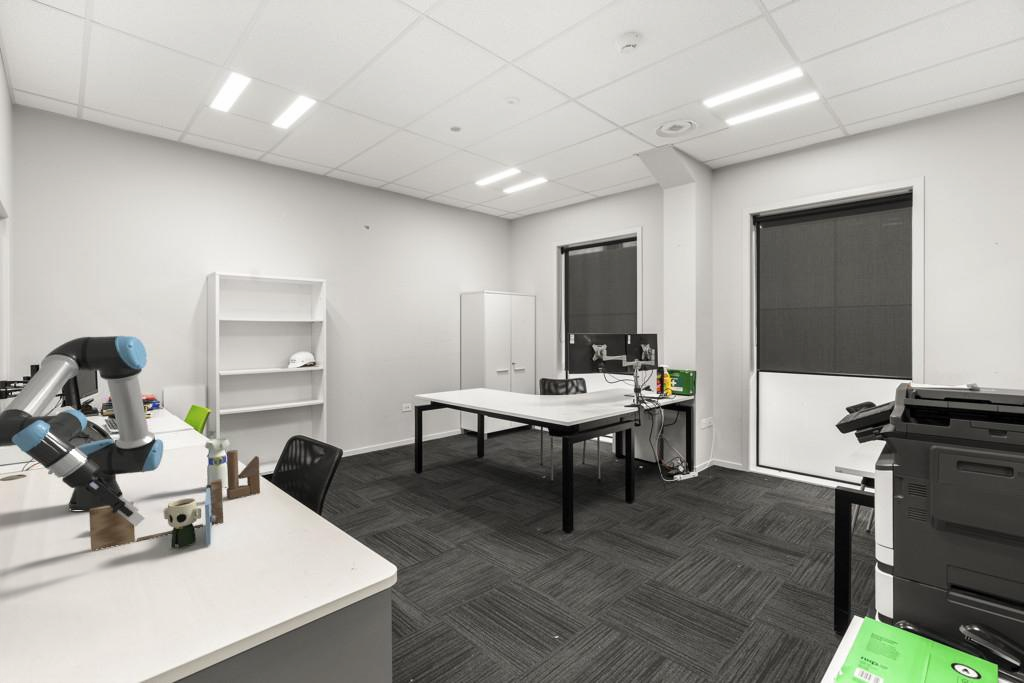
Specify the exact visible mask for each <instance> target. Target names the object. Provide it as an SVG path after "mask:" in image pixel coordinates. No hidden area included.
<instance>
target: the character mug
mask: <svg viewBox="0 0 1024 683" xmlns="http://www.w3.org/2000/svg"><path fill="white" fill-rule="evenodd" d="M201 518H202V508H201V507H197V498H193V497H189V498H180V499H177V500H174V501H170V502H169V503H168V505H167V507H166V508H164V510H163V519H164V520H167V523H168V525H169V526H170V527H171V528H172V530H173V531H172V530H171V531H172V534H171V540H170V541H171V542H170V547H171V548H172V549H176V546H177V548H178V549H182V548H186V547H189V546H192V544H194V543H195V542H196V541H197V536H196V531H195V530H196V529H194V526H195V525H194V524H195V522H197V520H200V519H201ZM193 523H194V524H193Z"/></svg>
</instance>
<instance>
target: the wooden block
mask: <svg viewBox="0 0 1024 683" xmlns="http://www.w3.org/2000/svg"><path fill="white" fill-rule="evenodd" d="M226 453H227V455H226V462H227V474H228V487H227V488H226V498H227V499H228V500H229V499H231V500H235V499H239V498H238V497H240V498H243V497H242V496H244V497H247V495H248V496H252V494H253V495H257V494H256V493H258V494H260V493H261V485H260V484H261V482H260V478H261V477H260V457H259V456H257V455H255V456H254V457H253V458H252V459H251V461H250V462H249V463H248V464H247V465H246V466H245V467H244V468H243V469H242V471H241V472H240V473H239V454H238V450H237V449H231V450H228V451H226ZM240 479H242V480H243V479H247V482H246V483H247V484H246V485H244V484H243V485H240ZM234 498H235V499H234Z"/></svg>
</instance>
